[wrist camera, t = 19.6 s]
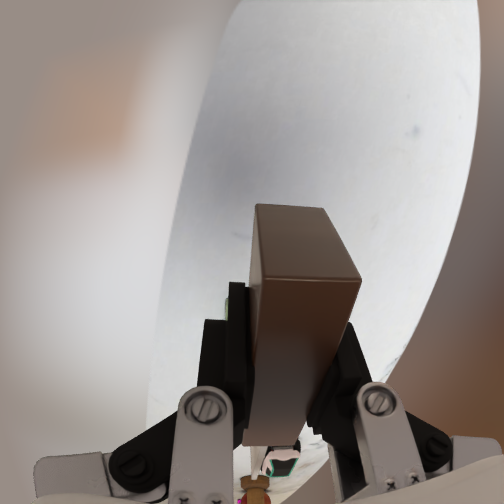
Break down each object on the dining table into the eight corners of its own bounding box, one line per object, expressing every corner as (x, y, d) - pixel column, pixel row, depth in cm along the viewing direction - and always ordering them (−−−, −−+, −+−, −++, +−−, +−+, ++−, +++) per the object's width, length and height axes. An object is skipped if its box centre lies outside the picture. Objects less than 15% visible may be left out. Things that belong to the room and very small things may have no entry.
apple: (246, 495, 66) (247, 518, 59) (236, 489, 62) (236, 514, 55) (273, 492, 65) (275, 516, 58) (265, 486, 61) (266, 512, 54)
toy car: (300, 436, 43) (303, 463, 39) (289, 459, 50) (292, 482, 45) (264, 437, 43) (266, 465, 39) (259, 460, 49) (260, 484, 45)
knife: (255, 202, 9) (261, 276, 6) (324, 207, 9) (364, 279, 6) (236, 437, 16) (236, 487, 13) (268, 437, 16) (271, 486, 13)
